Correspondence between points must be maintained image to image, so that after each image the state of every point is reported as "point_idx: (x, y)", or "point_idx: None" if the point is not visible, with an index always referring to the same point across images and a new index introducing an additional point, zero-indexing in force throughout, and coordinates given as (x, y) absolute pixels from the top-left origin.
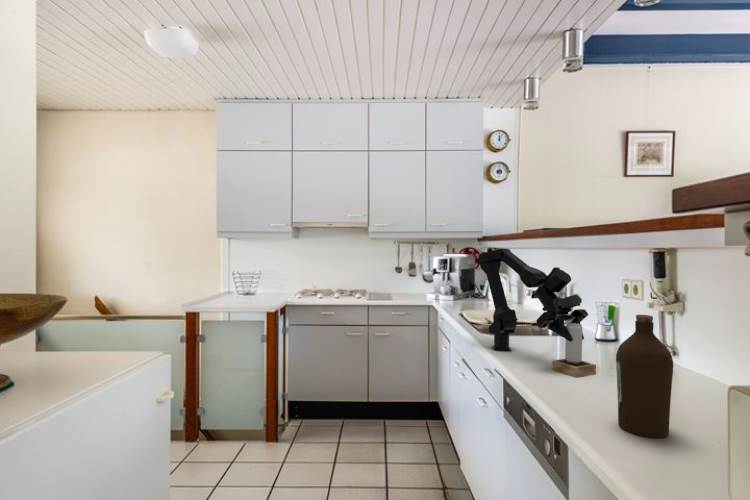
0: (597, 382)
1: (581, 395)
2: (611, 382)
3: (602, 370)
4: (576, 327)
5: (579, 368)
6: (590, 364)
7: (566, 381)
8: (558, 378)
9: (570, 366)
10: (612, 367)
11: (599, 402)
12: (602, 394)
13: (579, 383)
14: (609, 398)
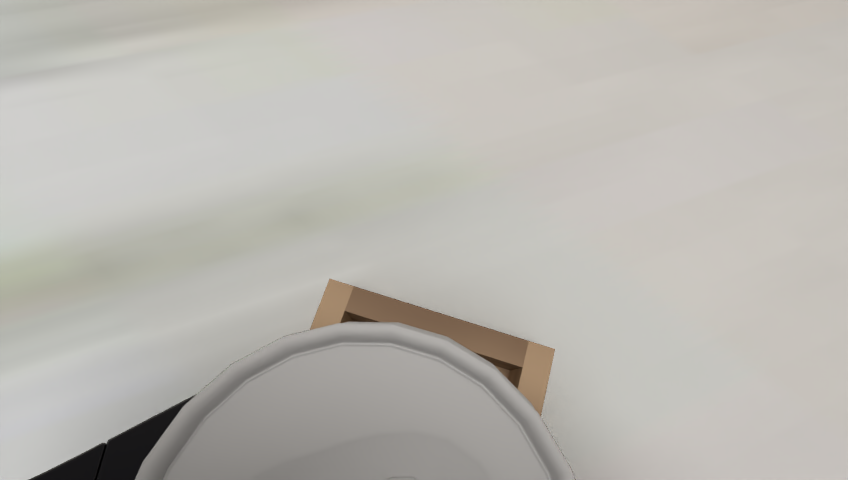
0: (527, 222)
1: (833, 200)
2: (459, 170)
3: (213, 294)
4: (527, 399)
5: (516, 338)
6: (355, 311)
7: (677, 364)
8: (663, 435)
9: (542, 406)
10: (77, 273)
11: (839, 110)
12: (713, 137)
13: (642, 288)
14: (740, 98)
